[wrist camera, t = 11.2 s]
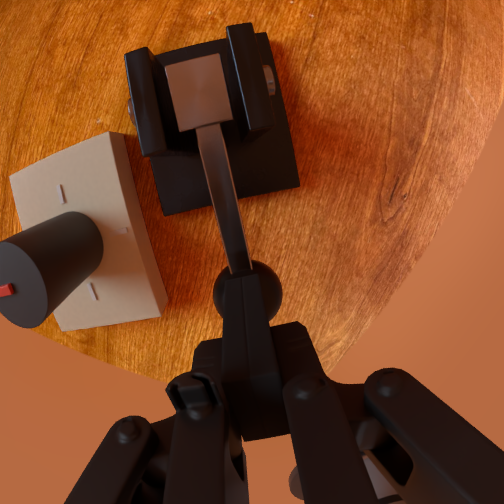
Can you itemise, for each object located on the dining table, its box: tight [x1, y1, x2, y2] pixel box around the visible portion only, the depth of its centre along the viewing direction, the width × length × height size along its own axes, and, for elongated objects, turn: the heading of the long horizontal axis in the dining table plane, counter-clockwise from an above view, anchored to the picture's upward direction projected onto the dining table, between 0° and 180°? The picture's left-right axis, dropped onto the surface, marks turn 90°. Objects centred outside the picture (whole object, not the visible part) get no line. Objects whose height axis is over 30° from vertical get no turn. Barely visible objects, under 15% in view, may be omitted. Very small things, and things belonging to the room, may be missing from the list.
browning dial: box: [0, 211, 104, 328], centre depth 16 cm, size 5×5×8 cm
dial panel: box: [10, 131, 168, 332], centre depth 21 cm, size 14×10×3 cm
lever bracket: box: [124, 22, 300, 216], centre depth 15 cm, size 12×10×12 cm
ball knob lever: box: [164, 53, 283, 321], centre depth 14 cm, size 13×4×4 cm, turn 12°
